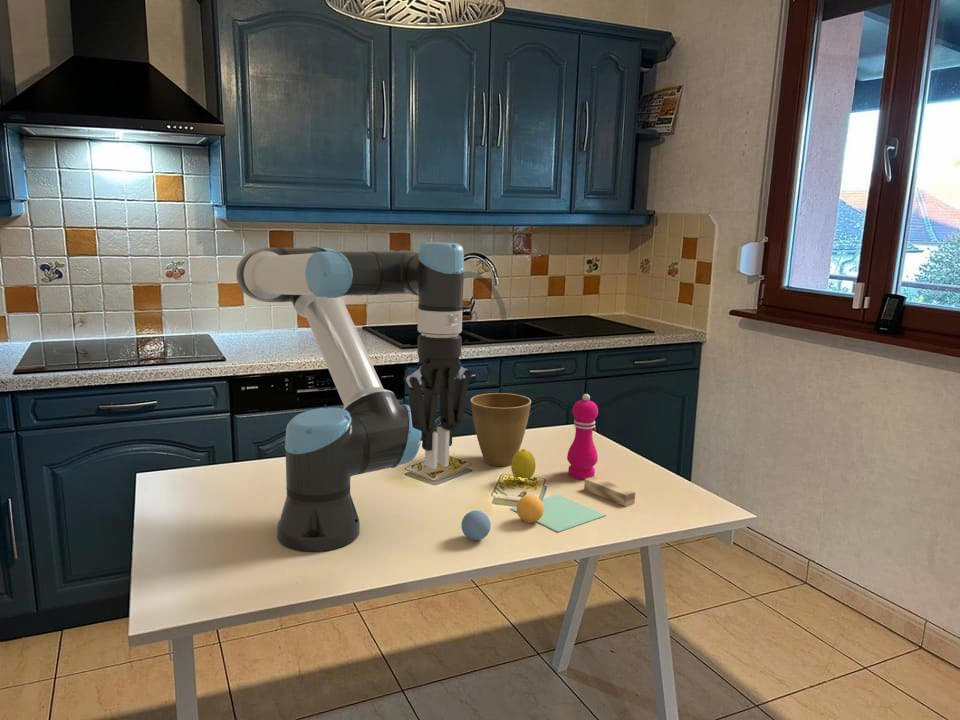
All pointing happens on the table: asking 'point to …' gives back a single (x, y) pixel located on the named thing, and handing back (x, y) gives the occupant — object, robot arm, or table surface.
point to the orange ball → (530, 508)
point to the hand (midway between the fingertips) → (436, 465)
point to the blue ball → (475, 525)
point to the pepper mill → (583, 440)
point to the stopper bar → (609, 491)
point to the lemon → (523, 464)
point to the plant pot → (500, 425)
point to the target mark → (565, 513)
